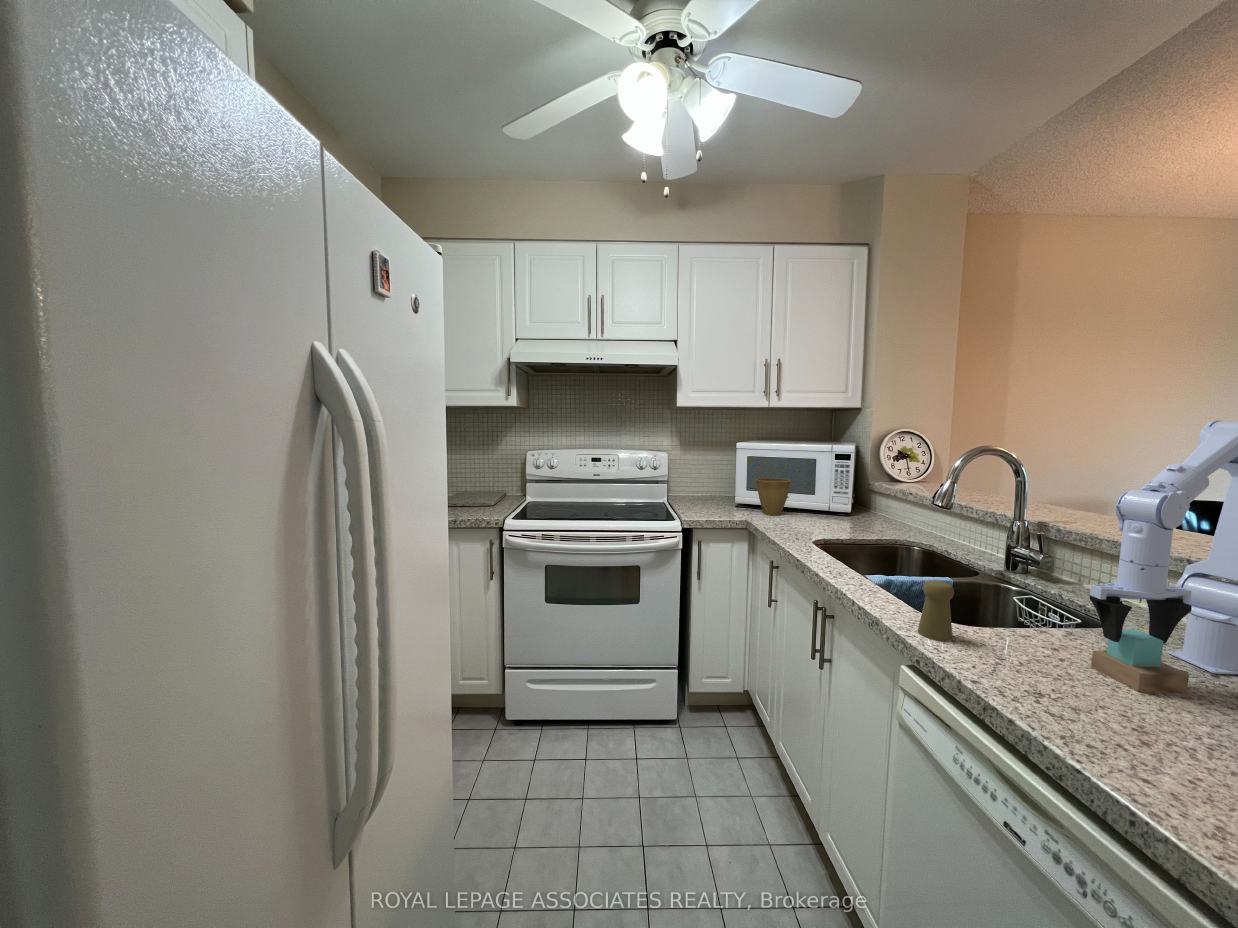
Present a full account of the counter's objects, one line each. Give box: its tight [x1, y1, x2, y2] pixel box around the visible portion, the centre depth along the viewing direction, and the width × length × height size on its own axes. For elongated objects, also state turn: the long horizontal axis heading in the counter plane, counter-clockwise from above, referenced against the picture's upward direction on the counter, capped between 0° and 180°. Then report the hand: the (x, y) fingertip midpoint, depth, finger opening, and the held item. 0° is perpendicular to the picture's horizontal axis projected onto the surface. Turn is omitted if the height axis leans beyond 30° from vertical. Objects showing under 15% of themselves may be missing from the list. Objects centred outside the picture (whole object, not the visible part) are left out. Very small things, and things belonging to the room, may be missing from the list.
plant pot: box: [756, 477, 792, 516], centre depth 228 cm, size 15×15×16 cm
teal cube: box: [1106, 628, 1164, 667], centre depth 85 cm, size 4×4×4 cm
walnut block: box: [1090, 650, 1190, 694], centre depth 85 cm, size 8×8×4 cm
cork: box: [917, 579, 955, 642], centre depth 101 cm, size 6×6×11 cm
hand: (1134, 640), depth 85 cm, fingers open, 7 cm apart
